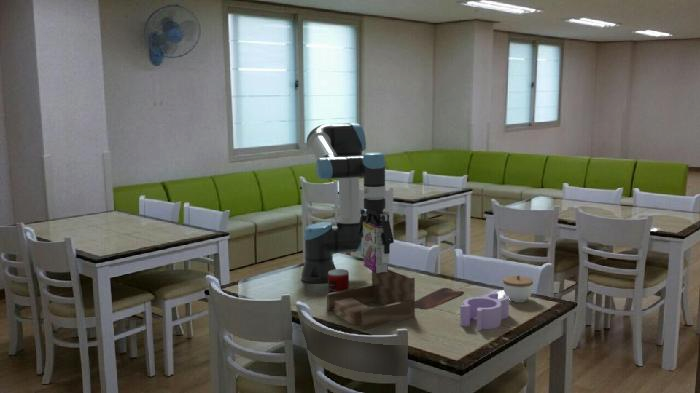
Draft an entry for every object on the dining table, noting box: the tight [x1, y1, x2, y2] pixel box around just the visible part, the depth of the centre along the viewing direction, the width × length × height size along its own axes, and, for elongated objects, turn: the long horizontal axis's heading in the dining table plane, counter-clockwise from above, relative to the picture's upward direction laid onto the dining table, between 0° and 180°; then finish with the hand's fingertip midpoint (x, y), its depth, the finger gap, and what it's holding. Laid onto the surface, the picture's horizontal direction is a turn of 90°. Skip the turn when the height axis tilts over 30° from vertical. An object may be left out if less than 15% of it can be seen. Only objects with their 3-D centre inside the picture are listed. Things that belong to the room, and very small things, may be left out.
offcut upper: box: [334, 298, 371, 320], centre depth 222 cm, size 14×7×2 cm, turn 29°
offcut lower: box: [333, 308, 361, 326], centre depth 222 cm, size 14×7×2 cm, turn 30°
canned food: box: [327, 268, 350, 293], centre depth 241 cm, size 8×8×11 cm
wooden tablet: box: [415, 287, 465, 311], centre depth 240 cm, size 26×2×10 cm
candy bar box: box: [363, 221, 389, 273], centre depth 224 cm, size 11×5×16 cm, turn 22°
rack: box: [326, 267, 416, 330], centre depth 225 cm, size 24×21×14 cm
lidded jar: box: [502, 274, 534, 303], centre depth 236 cm, size 11×11×9 cm
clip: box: [459, 292, 510, 332], centre depth 216 cm, size 20×12×7 cm, turn 136°
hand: (375, 258), depth 225 cm, fingers closed on candy bar box, 12 cm apart
